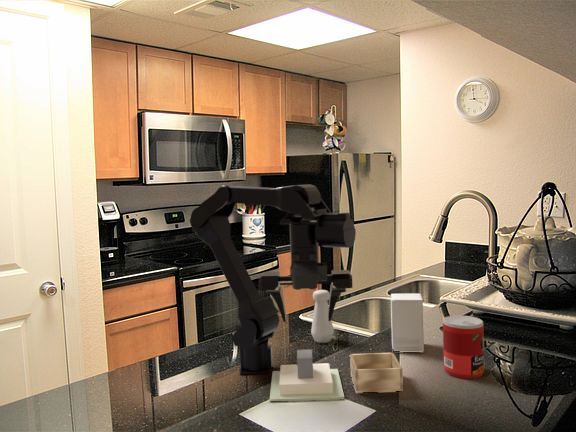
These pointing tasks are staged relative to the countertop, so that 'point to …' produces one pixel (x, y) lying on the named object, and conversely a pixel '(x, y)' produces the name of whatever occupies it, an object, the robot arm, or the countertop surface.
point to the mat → (335, 395)
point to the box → (376, 372)
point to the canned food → (463, 346)
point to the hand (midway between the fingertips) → (307, 321)
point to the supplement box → (407, 322)
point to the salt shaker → (321, 318)
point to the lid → (305, 376)
